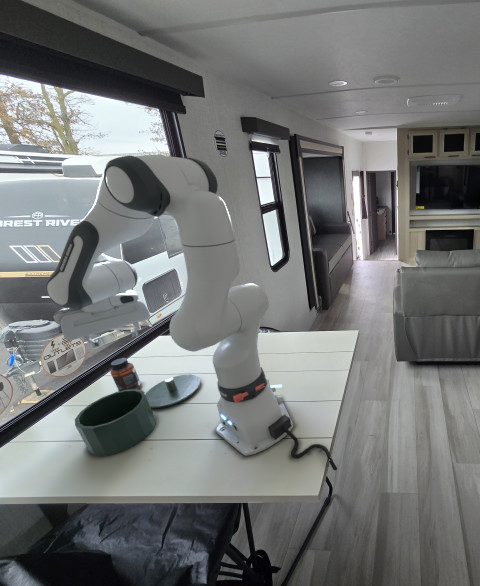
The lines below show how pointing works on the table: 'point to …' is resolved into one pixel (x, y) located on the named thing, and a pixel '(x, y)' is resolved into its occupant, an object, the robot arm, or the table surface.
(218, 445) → the table surface
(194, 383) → the tin lid
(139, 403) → the waste tin
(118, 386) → the supplement bottle
